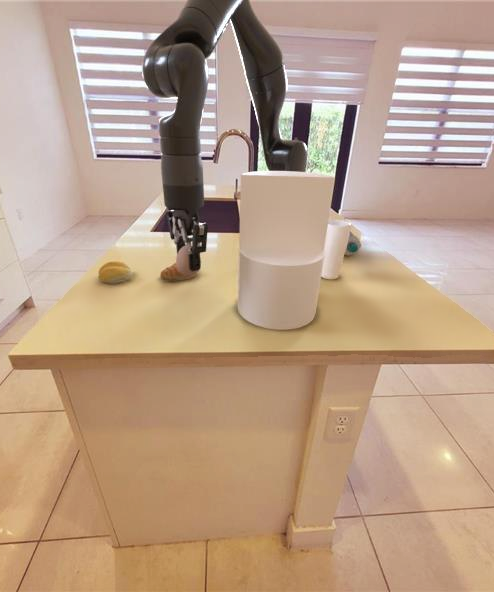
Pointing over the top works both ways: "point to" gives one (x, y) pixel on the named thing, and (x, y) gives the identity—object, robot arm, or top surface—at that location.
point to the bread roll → (114, 272)
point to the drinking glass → (335, 248)
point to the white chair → (282, 246)
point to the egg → (184, 262)
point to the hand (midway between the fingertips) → (188, 265)
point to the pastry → (173, 274)
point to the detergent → (352, 245)
